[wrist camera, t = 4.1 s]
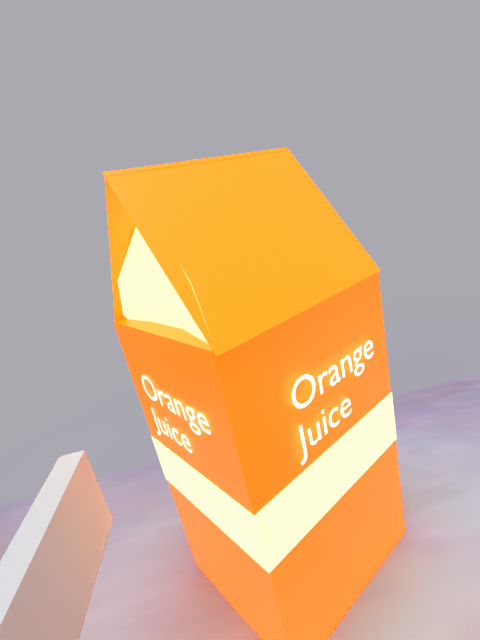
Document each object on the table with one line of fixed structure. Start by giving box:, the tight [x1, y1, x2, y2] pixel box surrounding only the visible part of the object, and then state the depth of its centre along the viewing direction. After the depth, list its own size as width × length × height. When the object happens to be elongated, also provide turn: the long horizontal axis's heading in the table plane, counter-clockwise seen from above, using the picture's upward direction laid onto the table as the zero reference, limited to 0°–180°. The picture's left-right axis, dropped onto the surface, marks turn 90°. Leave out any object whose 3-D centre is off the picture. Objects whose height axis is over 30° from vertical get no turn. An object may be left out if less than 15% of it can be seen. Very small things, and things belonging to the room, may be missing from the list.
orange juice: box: [103, 148, 405, 640], centre depth 17 cm, size 8×9×20 cm
